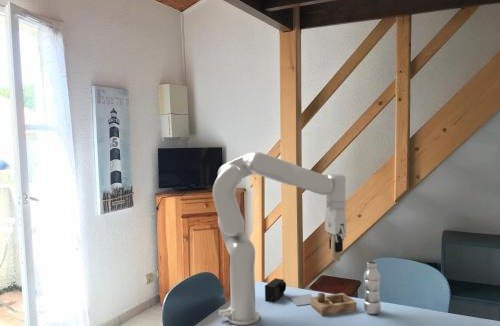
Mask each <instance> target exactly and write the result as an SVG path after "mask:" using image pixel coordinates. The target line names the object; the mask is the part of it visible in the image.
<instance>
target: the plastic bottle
mask: <svg viewBox="0 0 500 326" xmlns="http://www.w3.org/2000/svg"><path fill="white" fill-rule="evenodd" d="M366 263H367V265H366V270H365V271H364V274H363V280H364V289H365V290H364V291H365V293H364V303H363V309H364V311H365V313H367V314H370V315H378V314H379V313H380V312H381V309H382V303H381V299H380V285H381V284H380V283H381V273H380V271H378V269H377V268H378V264H377V262H376V261H373V260H372V261H371V260H369V261H367V262H366Z"/></svg>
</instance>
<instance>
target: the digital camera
mask: <svg viewBox="0 0 500 326" xmlns="http://www.w3.org/2000/svg"><path fill="white" fill-rule="evenodd" d="M286 288H287V283H286V282H285V281H284V279H282V278H273V279H272V280H271V281H270V282H268V283H267V284H265V285H264V301H265V302H269V303H276V302H277V301H279V300H280V297H281V298H282V297H283V296H284V295H285V292H286Z"/></svg>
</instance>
